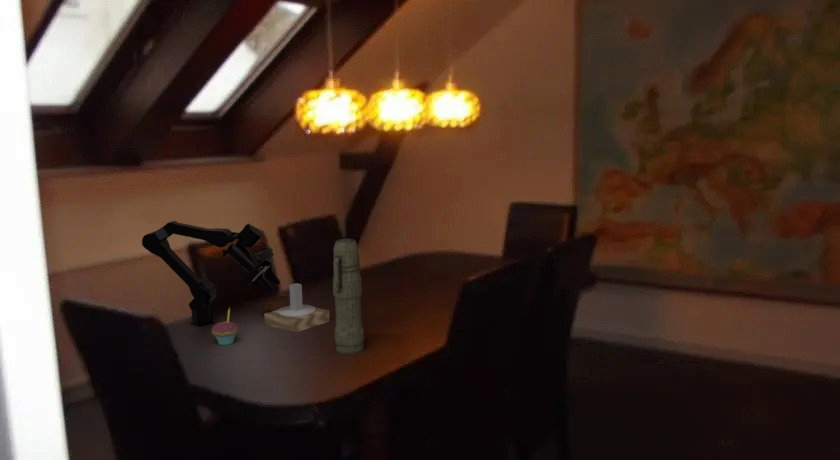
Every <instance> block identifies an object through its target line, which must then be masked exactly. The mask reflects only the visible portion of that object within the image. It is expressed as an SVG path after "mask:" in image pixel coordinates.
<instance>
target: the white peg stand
mask: <svg viewBox="0 0 840 460" xmlns="http://www.w3.org/2000/svg"><path fill="white" fill-rule="evenodd" d="M288 289H289V301H290V302H289V305H288V306H285V307H282V308H280V309H279V310H278V314H279V315H280V316H283V317H303V316H308V315H311V314H313V313H315V308H316V307H315V306H314V305H312V304H311V305H310V304H303V287H302V284H301V283H295V282H294V283H291V284H289V288H288Z"/></svg>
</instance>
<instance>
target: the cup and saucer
mask: <svg viewBox="0 0 840 460" xmlns="http://www.w3.org/2000/svg"><path fill="white" fill-rule="evenodd" d="M285 306H289V299H288V296H286V295H272V296H269V297H268V298H267V303H266V305H265V306H264V308H261V313H262V314H263V315H264V314H265V313H269V312H272V311H276V310H279V309H280V308H282V307H285Z"/></svg>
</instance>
